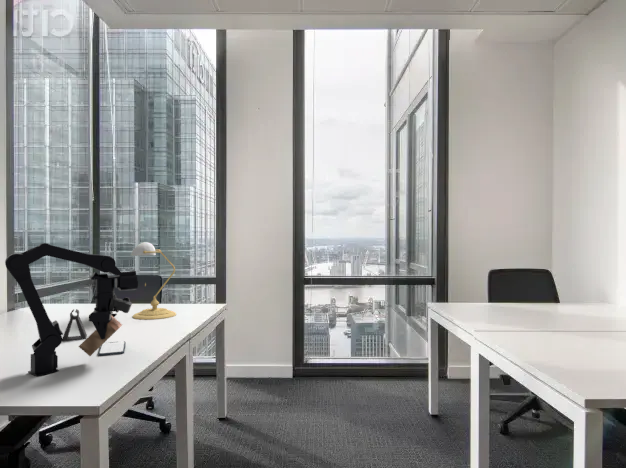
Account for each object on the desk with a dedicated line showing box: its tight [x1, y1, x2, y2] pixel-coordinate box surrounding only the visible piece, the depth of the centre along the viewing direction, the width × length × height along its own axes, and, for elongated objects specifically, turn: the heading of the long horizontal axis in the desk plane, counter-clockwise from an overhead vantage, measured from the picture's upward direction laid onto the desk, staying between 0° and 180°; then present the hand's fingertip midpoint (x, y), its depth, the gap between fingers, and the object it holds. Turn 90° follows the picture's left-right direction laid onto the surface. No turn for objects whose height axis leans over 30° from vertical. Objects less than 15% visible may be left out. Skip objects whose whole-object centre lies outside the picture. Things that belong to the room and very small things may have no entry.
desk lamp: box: [129, 241, 177, 321], centre depth 235 cm, size 31×23×40 cm
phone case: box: [97, 340, 126, 357], centre depth 165 cm, size 9×2×16 cm
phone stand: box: [62, 309, 88, 342], centre depth 183 cm, size 9×6×12 cm, turn 114°
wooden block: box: [78, 316, 123, 357], centre depth 148 cm, size 5×5×13 cm
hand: (104, 337), depth 149 cm, fingers closed on wooden block, 5 cm apart
